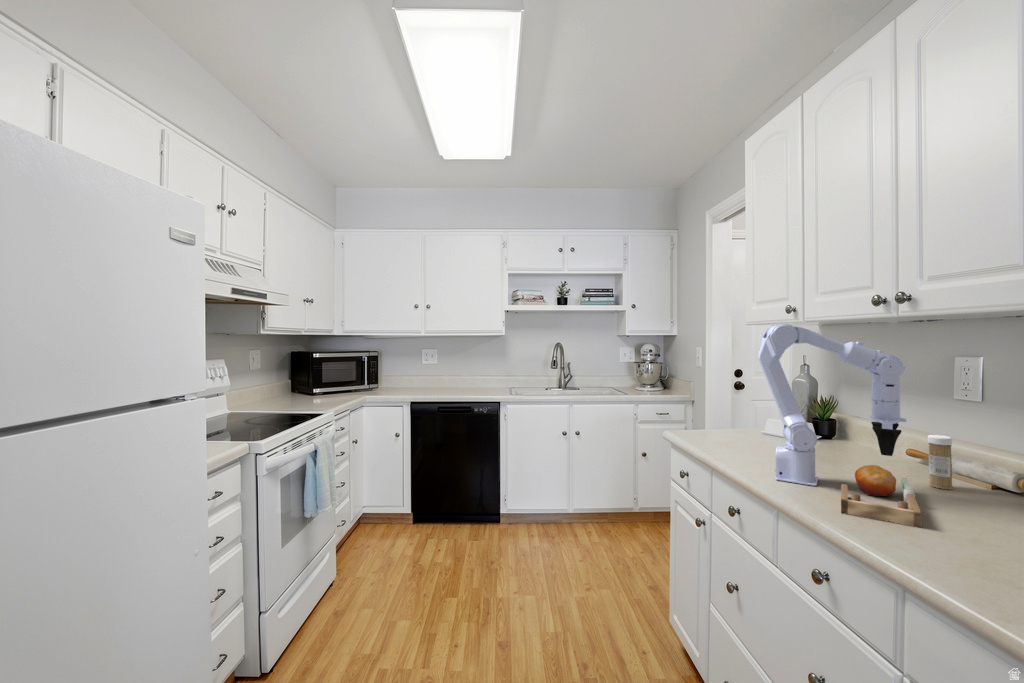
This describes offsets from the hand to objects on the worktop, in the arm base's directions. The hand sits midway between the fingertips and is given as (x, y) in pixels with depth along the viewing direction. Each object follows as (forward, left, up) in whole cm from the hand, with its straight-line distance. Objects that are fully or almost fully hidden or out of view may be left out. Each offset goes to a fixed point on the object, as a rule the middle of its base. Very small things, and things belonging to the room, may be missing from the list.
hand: (885, 452), depth 115 cm
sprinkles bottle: (+11, +9, -10) cm, 17 cm away
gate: (+3, -7, -9) cm, 12 cm away
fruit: (-3, -7, -10) cm, 12 cm away
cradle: (-3, -20, -9) cm, 23 cm away
